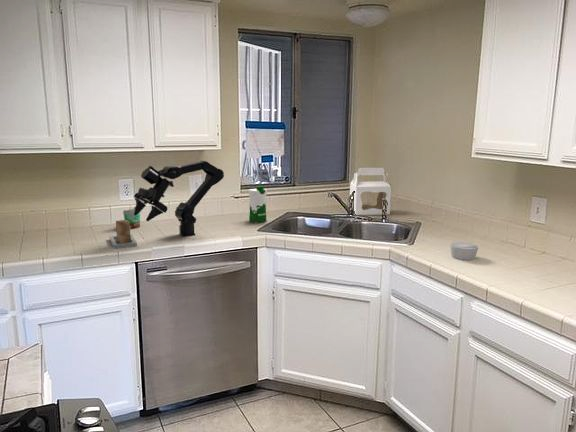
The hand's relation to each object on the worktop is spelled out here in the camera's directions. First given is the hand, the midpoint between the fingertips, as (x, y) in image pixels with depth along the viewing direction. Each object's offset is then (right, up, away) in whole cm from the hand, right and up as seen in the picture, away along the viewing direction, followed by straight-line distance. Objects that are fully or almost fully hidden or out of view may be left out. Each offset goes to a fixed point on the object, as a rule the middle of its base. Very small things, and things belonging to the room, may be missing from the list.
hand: (140, 218), depth 225 cm
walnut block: (-6, -12, -4) cm, 14 cm away
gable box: (+118, +3, +78) cm, 142 cm away
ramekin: (+141, -17, -19) cm, 144 cm away
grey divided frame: (-8, -11, 0) cm, 14 cm away
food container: (-12, -5, +32) cm, 35 cm away
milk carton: (+51, -2, +50) cm, 72 cm away
